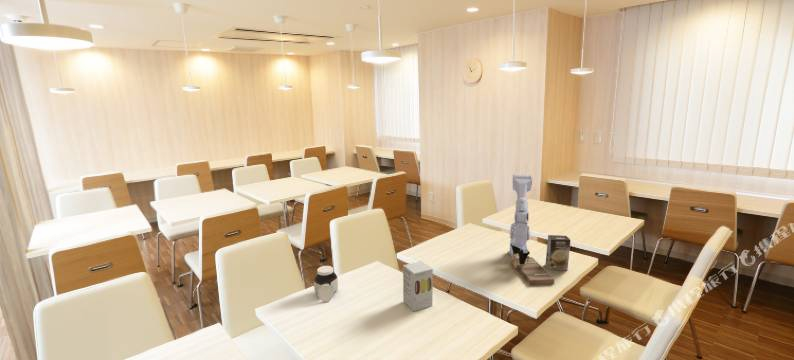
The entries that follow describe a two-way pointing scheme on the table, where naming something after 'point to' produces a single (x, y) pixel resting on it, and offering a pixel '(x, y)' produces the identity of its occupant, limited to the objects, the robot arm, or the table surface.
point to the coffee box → (557, 252)
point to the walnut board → (534, 273)
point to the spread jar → (325, 283)
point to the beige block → (516, 260)
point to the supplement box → (417, 285)
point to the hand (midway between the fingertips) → (519, 260)
